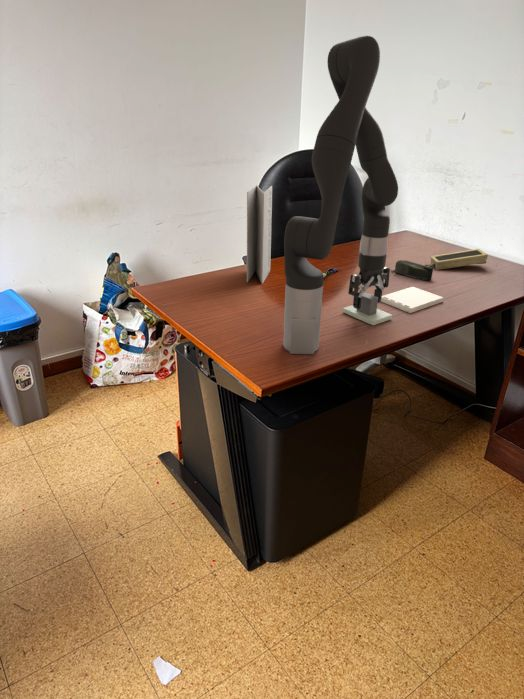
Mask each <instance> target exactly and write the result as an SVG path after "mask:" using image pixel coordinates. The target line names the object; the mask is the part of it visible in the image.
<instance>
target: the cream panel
mask: <svg viewBox="0 0 524 699" xmlns="http://www.w3.org/2000/svg"><path fill="white" fill-rule="evenodd" d="M443 302H444V297H443V296H441V295H437V294H435V293H432V292H429V291H426V290H423V289H422V288H418V287H415V286H410V287H407V288H403V289H401V290H397V291H394V292H391V293H387V294H384V295H382V298H381V302H380V303H383V304H386V305H389V306H392V307H394V308H396V309H399V310H401V311H404V312H406V313H409V314H411V313H415V312H417V311H420V310H423V309H425V308H429V307H432V306H434V305H438V304H440V303H443Z"/></svg>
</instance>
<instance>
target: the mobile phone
mask: <svg viewBox="0 0 524 699" xmlns="http://www.w3.org/2000/svg"><path fill="white" fill-rule="evenodd" d="M424 265H425V264H421V263H417V262H414V261H411V260H407V259H406V260H403V259H401V260H399V259H398V260H397V261H396V263H395V265H394V269H390V273H391V272H392V273H395V274H399V275H404V276H406V277H411V278H414V279H419V280H423V281H430V280H432V278H433V274H434V267H428V266H424Z"/></svg>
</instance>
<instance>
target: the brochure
mask: <svg viewBox="0 0 524 699" xmlns="http://www.w3.org/2000/svg"><path fill="white" fill-rule="evenodd" d="M272 210H273V185H271V186H269V188H267V189H266V190H265V191H263V190H262V188H260V187H259V185H258V184H256V185H255V186H254V187H252V188H251V189H249V190H248V191H247V192H246V283H249V281H250V279H251V278H252V277H253V275H254V274H255V272H256V274H257V276H258V279H259V281H260V283H261V284H264V282H265V280H266V279H267V277H268V276H269V274H270V272H271V256H272V255H271V253H272V251H271V250H272V249H271V248H272V216H273V215H272V214H273V213H272V212H273V211H272Z"/></svg>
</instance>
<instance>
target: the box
mask: <svg viewBox="0 0 524 699" xmlns="http://www.w3.org/2000/svg"><path fill="white" fill-rule="evenodd" d="M488 255H489V254H487V253H486V252H485V251H483V250H482V249H480V248H475V249H469V250H463V251H456V252H455V251H454V252H449V253H444V254H438V255H431V256H429V257H430V263H428V264H423V265H424V266H428V267H432V268H435V269H436V270H437V271H438V270H439V271H440V270H446V269H451V268H459V267H462V268H465V267H467V266H470V265H471V266H472V265H483V264H486V263H487V260H488V257H489V256H488Z"/></svg>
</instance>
